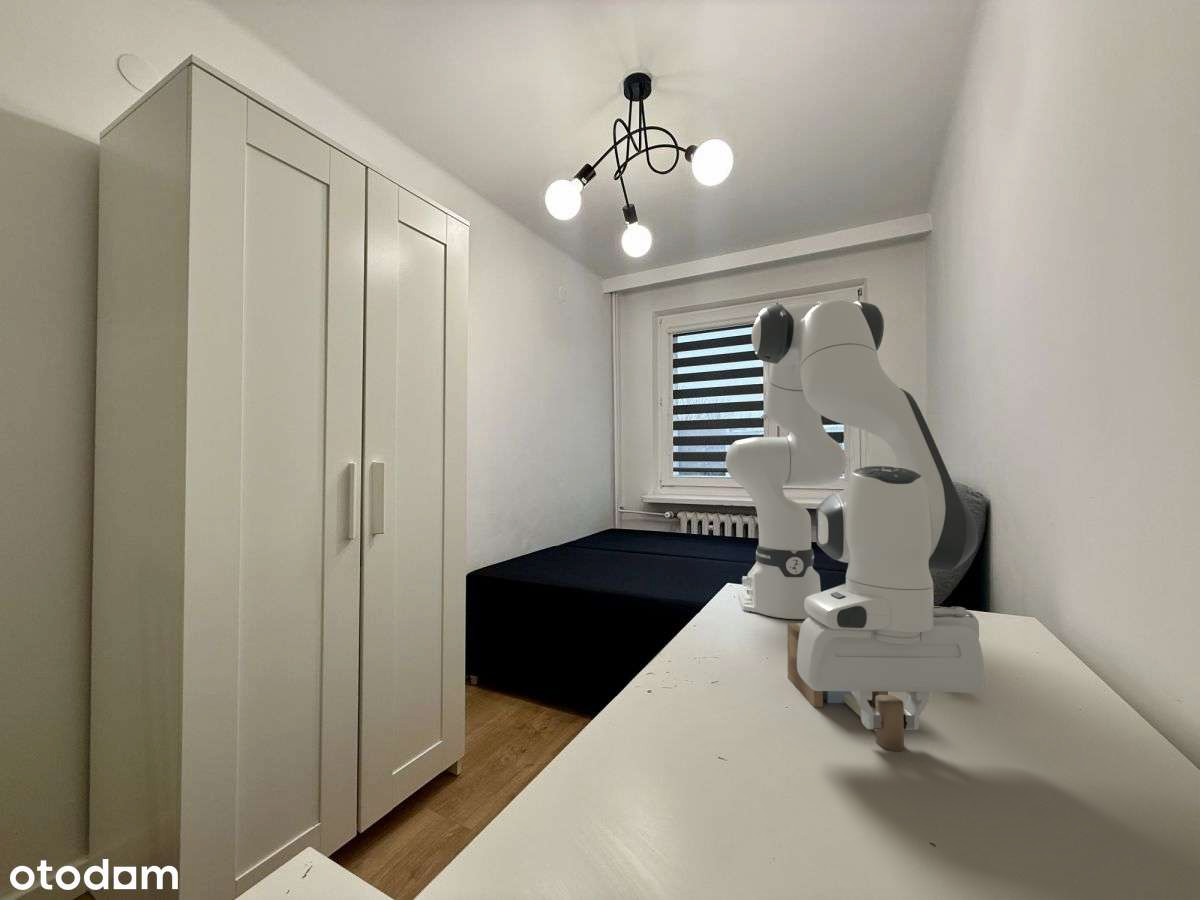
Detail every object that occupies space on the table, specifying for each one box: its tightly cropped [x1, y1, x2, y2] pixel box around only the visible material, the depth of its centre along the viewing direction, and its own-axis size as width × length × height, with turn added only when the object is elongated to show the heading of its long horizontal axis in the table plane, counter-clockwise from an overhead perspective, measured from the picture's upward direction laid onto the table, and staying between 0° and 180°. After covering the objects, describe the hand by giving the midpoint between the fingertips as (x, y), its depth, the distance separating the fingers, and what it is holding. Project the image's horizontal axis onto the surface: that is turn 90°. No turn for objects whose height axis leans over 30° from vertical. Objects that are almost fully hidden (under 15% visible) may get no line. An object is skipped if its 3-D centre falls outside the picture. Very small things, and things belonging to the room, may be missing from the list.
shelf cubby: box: [786, 622, 889, 708], centre depth 71 cm, size 9×10×8 cm
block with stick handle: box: [823, 691, 905, 752], centre depth 64 cm, size 16×5×5 cm, turn 0°
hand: (889, 727), depth 57 cm, fingers closed on block with stick handle, 3 cm apart
